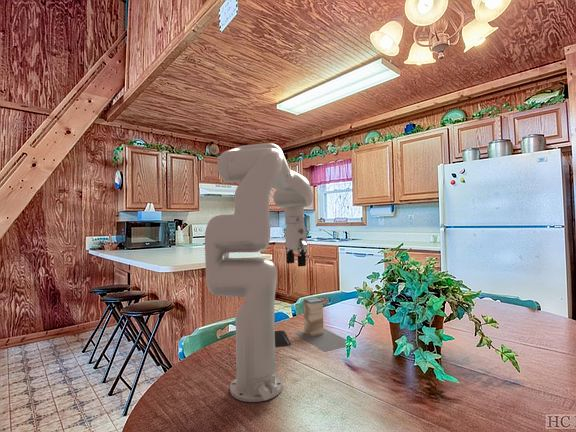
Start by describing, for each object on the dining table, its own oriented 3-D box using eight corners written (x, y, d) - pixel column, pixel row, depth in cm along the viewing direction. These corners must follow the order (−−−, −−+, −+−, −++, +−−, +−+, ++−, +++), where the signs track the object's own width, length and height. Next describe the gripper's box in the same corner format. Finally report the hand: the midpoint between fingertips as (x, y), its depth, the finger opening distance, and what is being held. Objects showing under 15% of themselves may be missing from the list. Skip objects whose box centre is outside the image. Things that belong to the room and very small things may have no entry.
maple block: (323, 333, 112) (322, 300, 113) (311, 336, 110) (310, 301, 110) (316, 330, 117) (315, 297, 117) (304, 332, 114) (303, 299, 115)
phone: (283, 330, 117) (291, 345, 102) (283, 333, 117) (291, 348, 102) (262, 332, 115) (267, 347, 101) (262, 335, 115) (267, 351, 101)
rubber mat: (355, 346, 102) (355, 344, 102) (324, 353, 96) (324, 351, 96) (321, 328, 120) (321, 327, 120) (293, 334, 114) (293, 332, 114)
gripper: (314, 220, 117) (315, 266, 117) (293, 220, 133) (294, 261, 133) (296, 221, 114) (297, 268, 114) (277, 221, 129) (278, 263, 129)
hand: (296, 264), depth 123 cm, fingers open, 9 cm apart
